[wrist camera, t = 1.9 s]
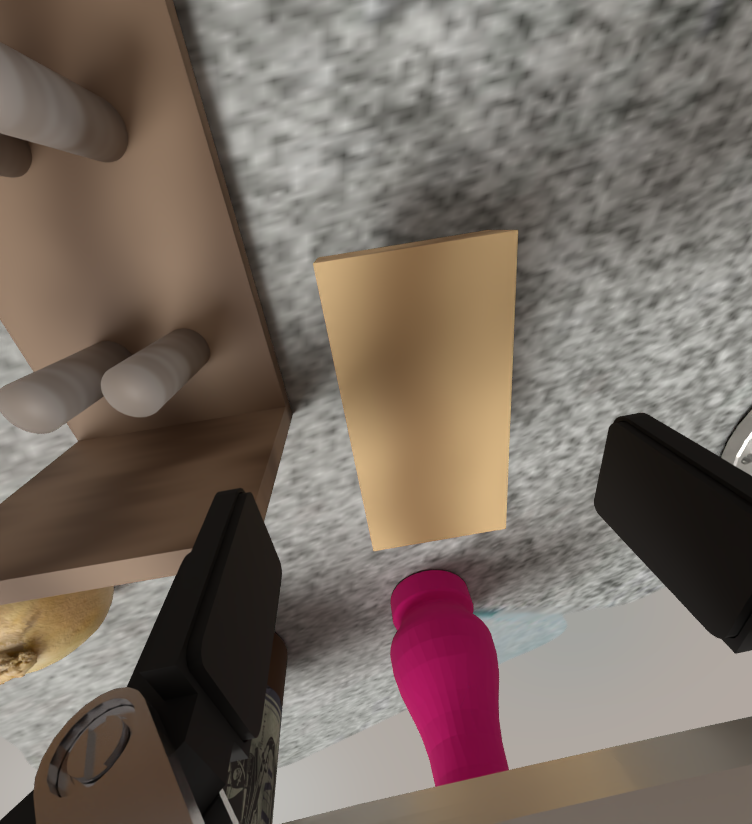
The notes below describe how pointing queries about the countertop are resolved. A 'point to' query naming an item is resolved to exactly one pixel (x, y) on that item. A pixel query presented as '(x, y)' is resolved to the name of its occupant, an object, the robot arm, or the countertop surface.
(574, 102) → the countertop surface
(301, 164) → the countertop surface
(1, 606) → the onion
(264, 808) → the olive oil
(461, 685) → the pepper mill
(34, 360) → the shelf cradle
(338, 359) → the oak board
